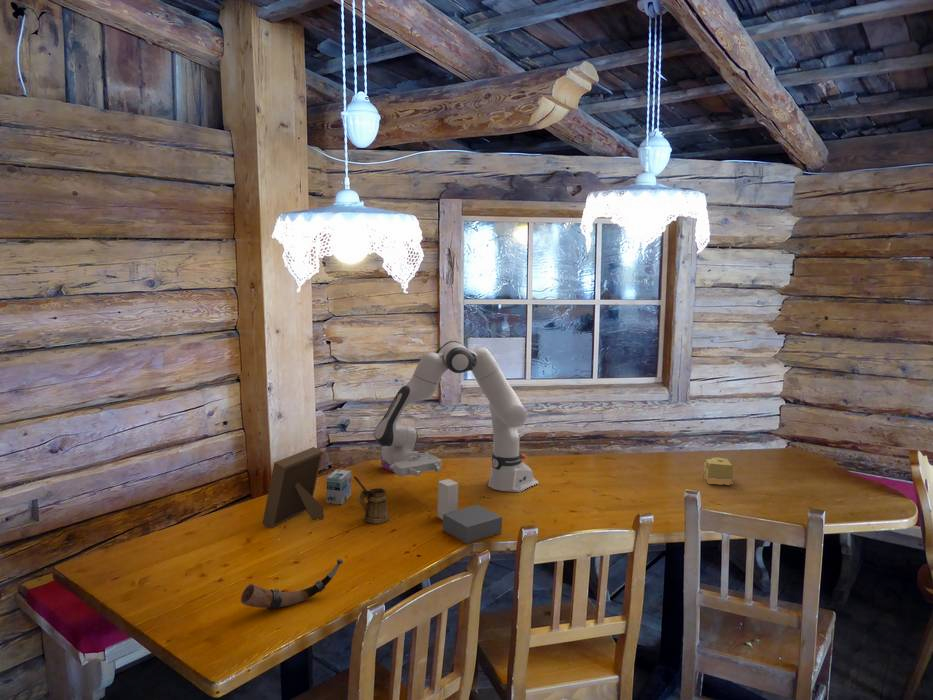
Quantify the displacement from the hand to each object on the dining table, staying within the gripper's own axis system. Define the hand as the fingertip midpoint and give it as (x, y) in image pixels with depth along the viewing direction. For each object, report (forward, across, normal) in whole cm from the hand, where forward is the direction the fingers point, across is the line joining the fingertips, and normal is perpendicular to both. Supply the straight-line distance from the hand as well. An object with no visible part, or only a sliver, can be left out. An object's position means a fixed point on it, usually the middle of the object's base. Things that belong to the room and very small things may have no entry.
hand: (428, 471), depth 270 cm
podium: (+27, +1, +14) cm, 31 cm away
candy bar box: (-46, +13, +15) cm, 50 cm away
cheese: (+48, +125, +12) cm, 134 cm away
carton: (+12, +1, +14) cm, 19 cm away
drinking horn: (+37, -72, +16) cm, 83 cm away
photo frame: (-17, -46, +16) cm, 52 cm away
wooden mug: (-2, -24, +15) cm, 29 cm away
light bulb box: (-27, -24, +16) cm, 39 cm away
